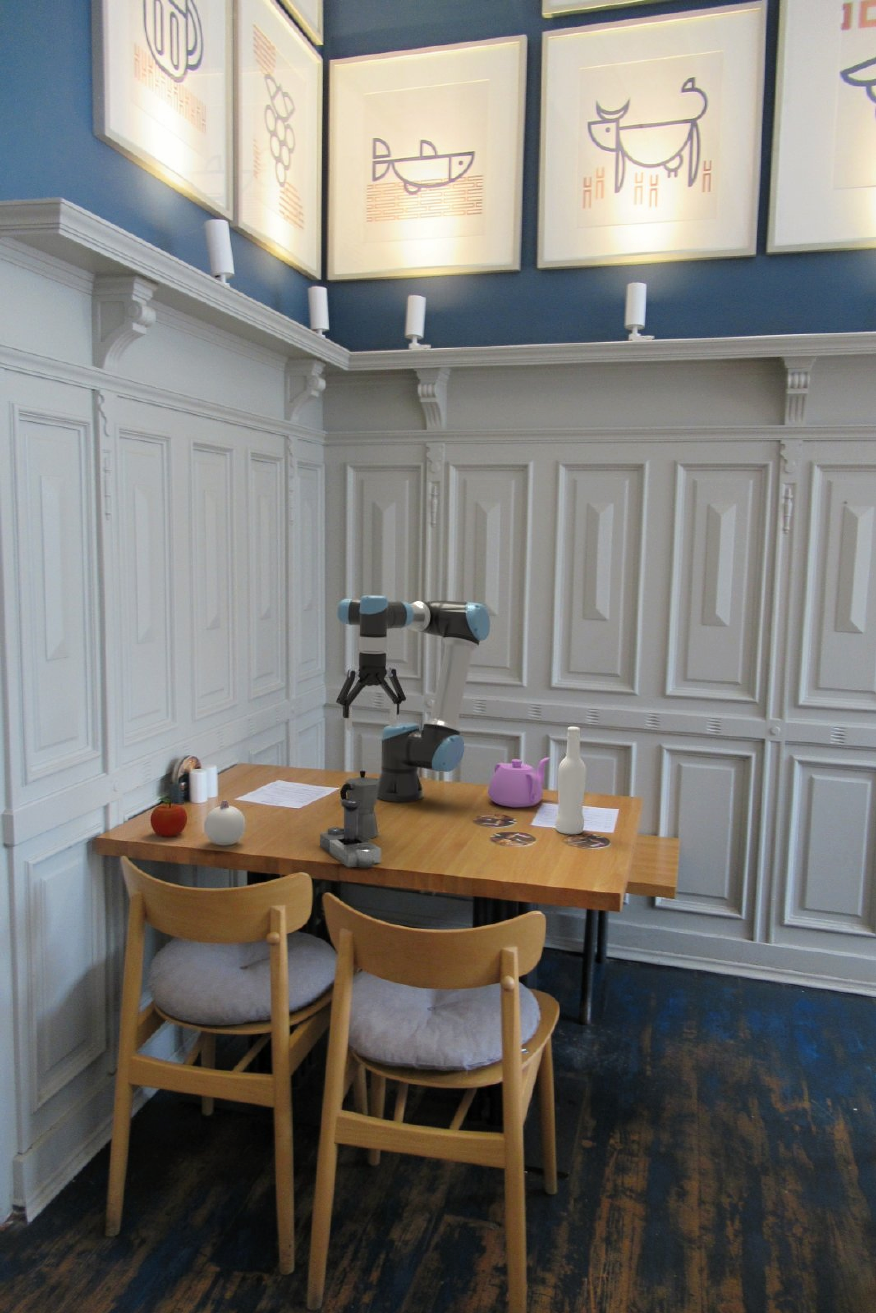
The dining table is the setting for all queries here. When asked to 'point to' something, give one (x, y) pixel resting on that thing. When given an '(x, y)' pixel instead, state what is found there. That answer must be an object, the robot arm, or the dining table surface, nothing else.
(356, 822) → the pin
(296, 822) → the dining table surface
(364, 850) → the grey slotted block
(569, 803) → the bottle
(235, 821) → the ornament
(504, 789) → the teapot
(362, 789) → the coffeepot
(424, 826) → the dining table surface
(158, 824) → the fruit
